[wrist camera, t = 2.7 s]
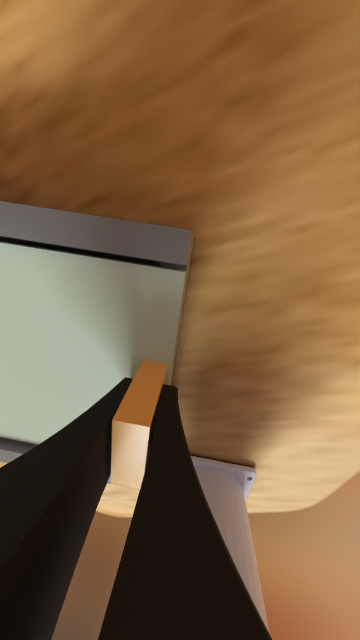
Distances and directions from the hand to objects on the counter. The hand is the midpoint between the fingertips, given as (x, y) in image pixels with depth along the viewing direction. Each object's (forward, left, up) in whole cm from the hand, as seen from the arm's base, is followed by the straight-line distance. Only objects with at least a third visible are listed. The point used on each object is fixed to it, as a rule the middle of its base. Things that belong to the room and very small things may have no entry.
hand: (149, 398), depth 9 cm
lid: (0, +8, -1) cm, 8 cm away
